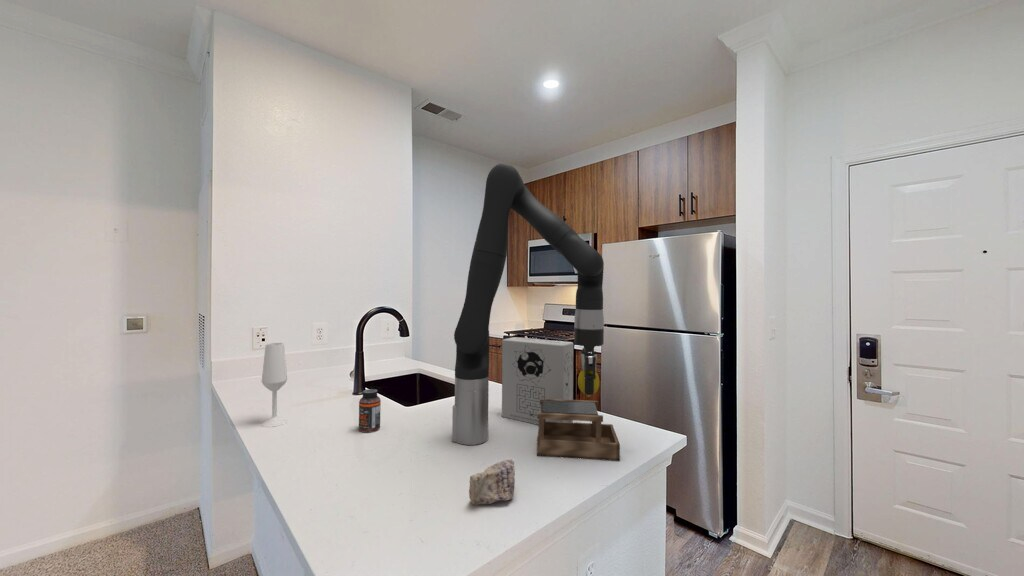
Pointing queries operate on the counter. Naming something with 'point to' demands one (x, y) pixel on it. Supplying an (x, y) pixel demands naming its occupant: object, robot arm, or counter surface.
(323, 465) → the counter surface
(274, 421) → the champagne flute
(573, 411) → the trapdoor
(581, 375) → the lemon
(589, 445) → the stand
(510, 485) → the mineral specimen
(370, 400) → the supplement bottle
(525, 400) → the cereal box
